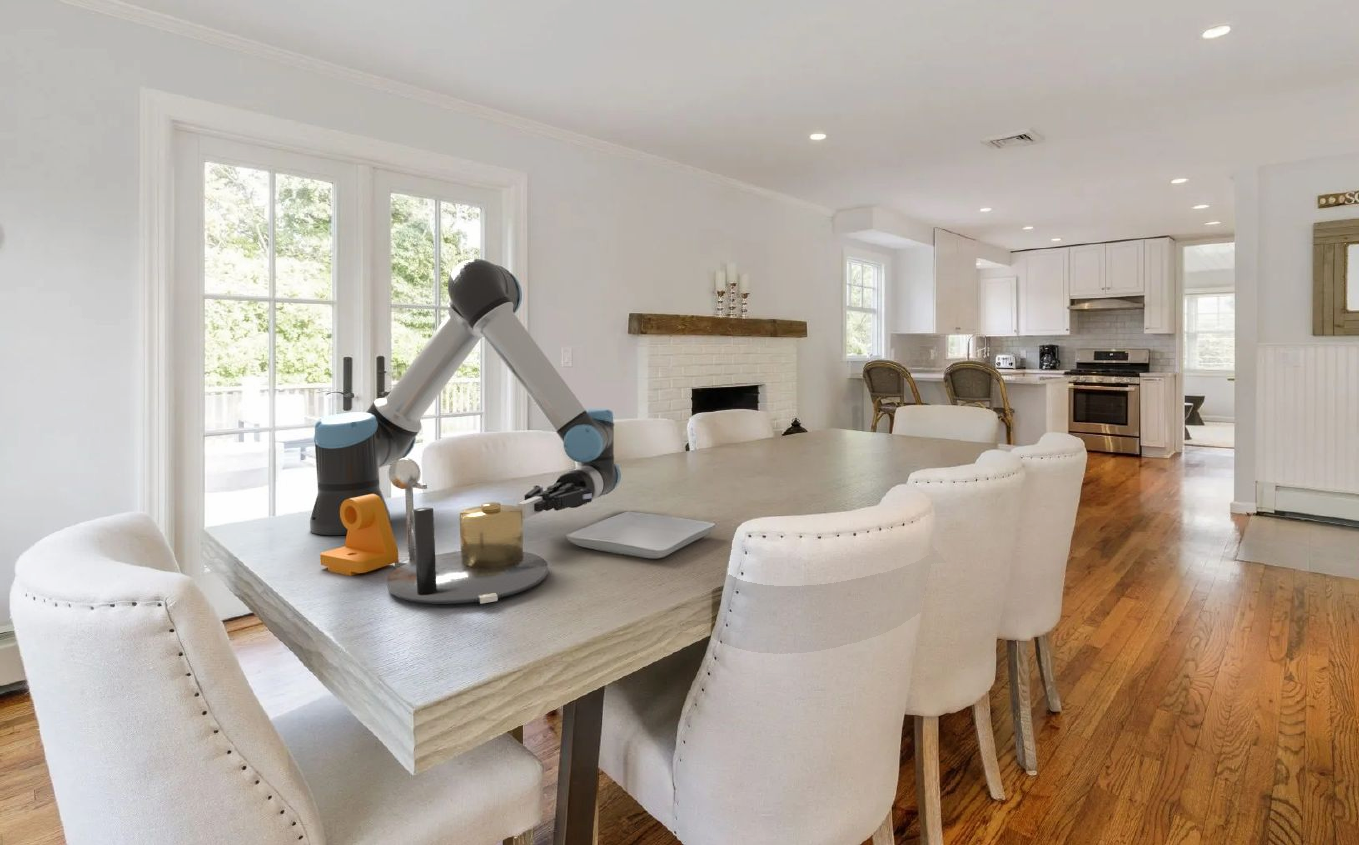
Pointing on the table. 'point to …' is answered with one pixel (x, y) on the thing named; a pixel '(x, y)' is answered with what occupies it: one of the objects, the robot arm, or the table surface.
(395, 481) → the stand
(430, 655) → the table surface
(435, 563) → the turntable
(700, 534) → the salad plate
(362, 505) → the bracket
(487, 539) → the cover
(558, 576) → the table surface
